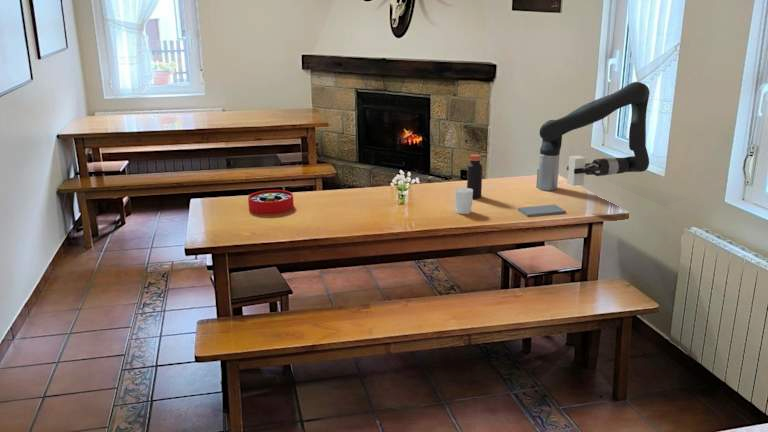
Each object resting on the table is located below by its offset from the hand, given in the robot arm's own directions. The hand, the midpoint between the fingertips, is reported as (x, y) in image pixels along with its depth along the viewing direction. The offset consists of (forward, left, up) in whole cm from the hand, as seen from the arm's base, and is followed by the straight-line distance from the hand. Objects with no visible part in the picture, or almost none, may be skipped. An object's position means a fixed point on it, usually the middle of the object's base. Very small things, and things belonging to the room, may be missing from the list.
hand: (571, 169), depth 299 cm
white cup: (-26, -39, -18) cm, 50 cm away
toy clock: (-85, -102, -18) cm, 134 cm away
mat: (-5, -12, -18) cm, 22 cm away
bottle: (-40, -19, -18) cm, 48 cm away
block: (+1, +2, -7) cm, 7 cm away
